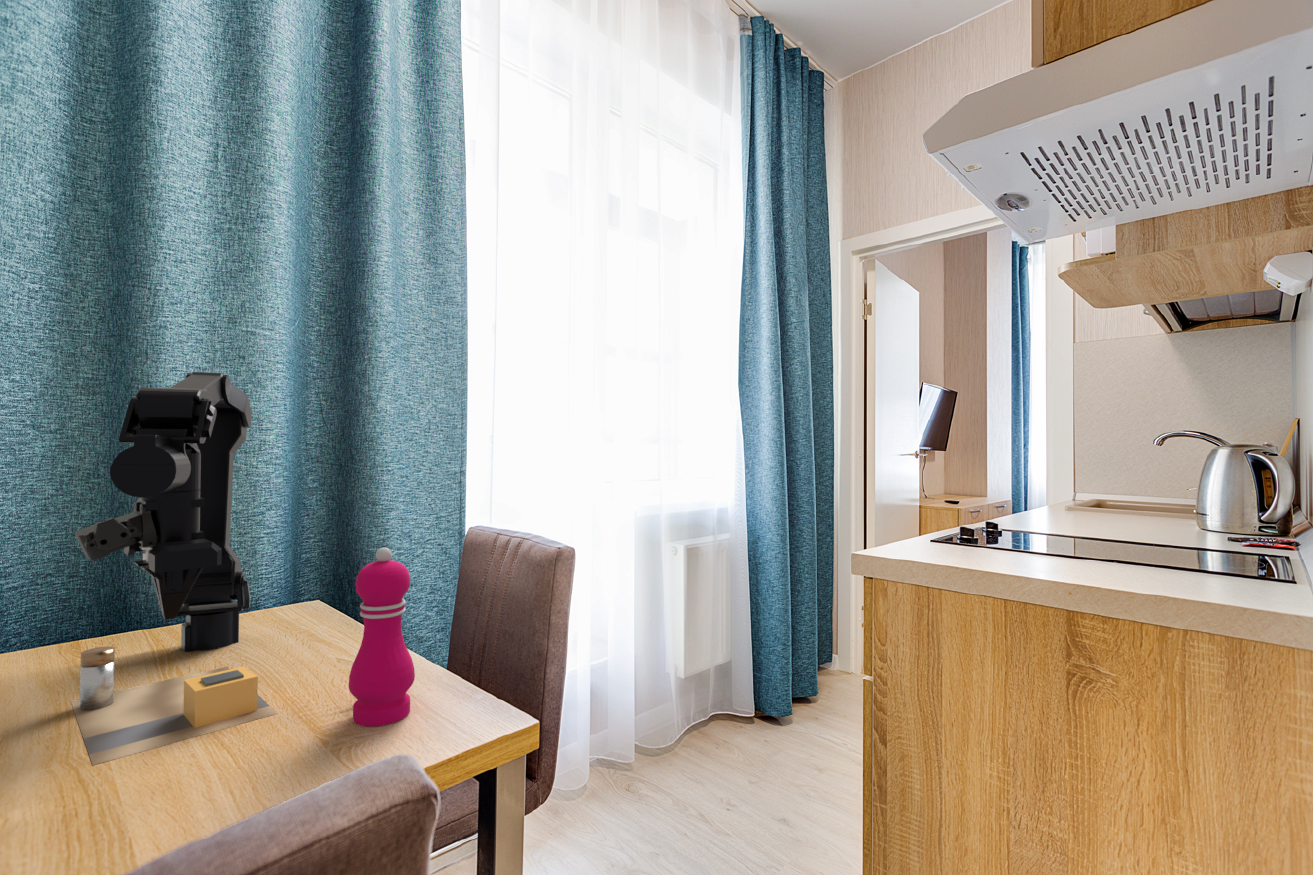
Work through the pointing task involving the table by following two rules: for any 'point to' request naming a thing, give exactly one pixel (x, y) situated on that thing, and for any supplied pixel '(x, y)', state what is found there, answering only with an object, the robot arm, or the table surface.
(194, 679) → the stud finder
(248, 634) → the table surface
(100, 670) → the metal peg
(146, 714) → the beige flat piece
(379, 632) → the pepper mill
